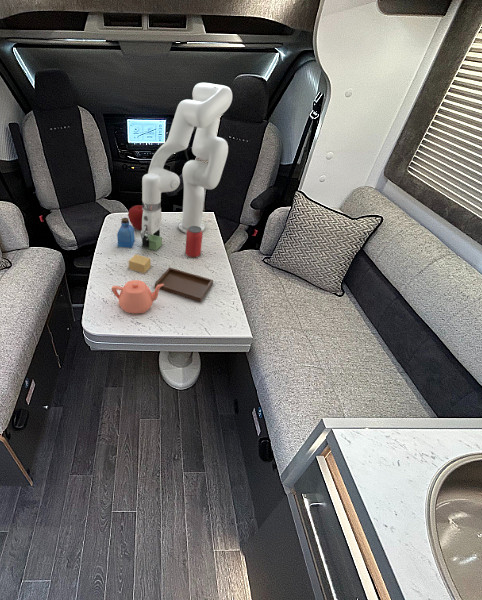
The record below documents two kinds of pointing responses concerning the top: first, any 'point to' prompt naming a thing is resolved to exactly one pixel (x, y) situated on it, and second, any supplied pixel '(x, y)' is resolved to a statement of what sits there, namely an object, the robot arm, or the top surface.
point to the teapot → (136, 296)
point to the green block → (154, 242)
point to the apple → (136, 216)
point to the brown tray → (184, 284)
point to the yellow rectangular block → (139, 263)
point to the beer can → (193, 241)
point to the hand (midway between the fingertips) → (151, 242)
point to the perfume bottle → (125, 234)
